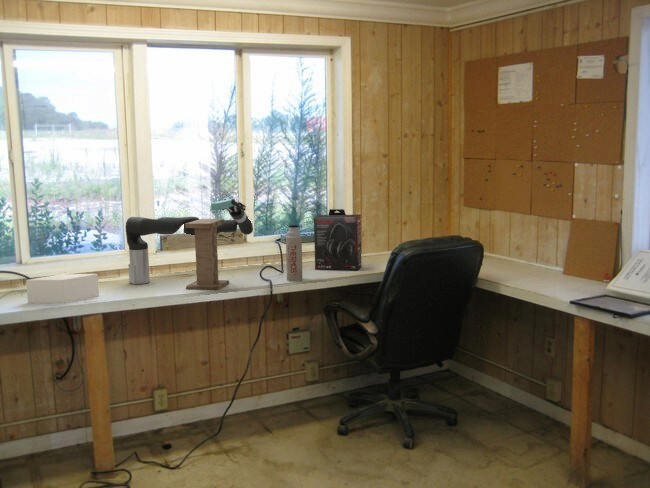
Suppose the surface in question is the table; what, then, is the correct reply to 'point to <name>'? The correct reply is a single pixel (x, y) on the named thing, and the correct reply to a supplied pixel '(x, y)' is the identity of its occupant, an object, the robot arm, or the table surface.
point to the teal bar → (222, 204)
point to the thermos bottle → (294, 254)
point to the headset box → (337, 241)
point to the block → (62, 288)
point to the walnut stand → (206, 255)
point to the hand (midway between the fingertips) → (228, 200)
